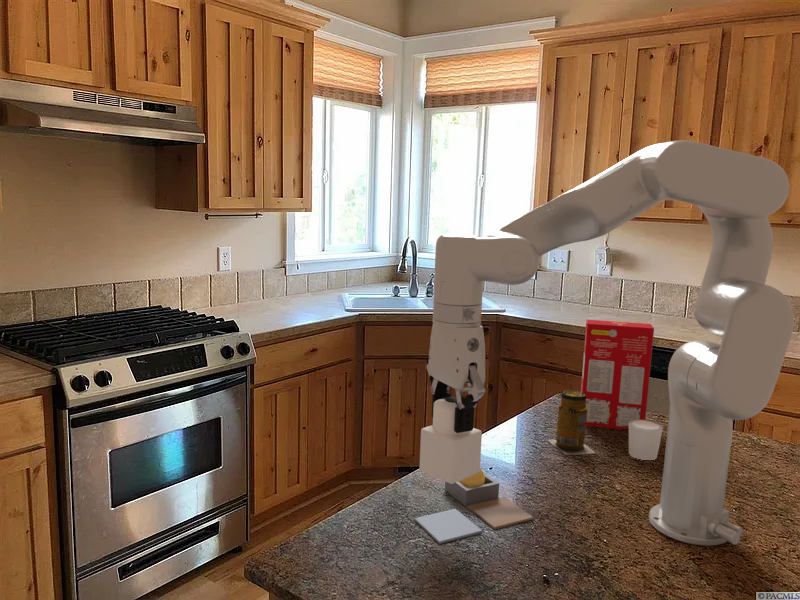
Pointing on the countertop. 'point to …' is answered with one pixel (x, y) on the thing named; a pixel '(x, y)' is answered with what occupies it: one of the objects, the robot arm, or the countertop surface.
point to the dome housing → (474, 491)
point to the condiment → (572, 424)
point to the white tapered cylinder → (644, 439)
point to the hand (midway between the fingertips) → (451, 423)
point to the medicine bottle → (449, 445)
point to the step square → (499, 512)
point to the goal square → (447, 525)
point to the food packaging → (616, 372)
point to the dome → (474, 480)
